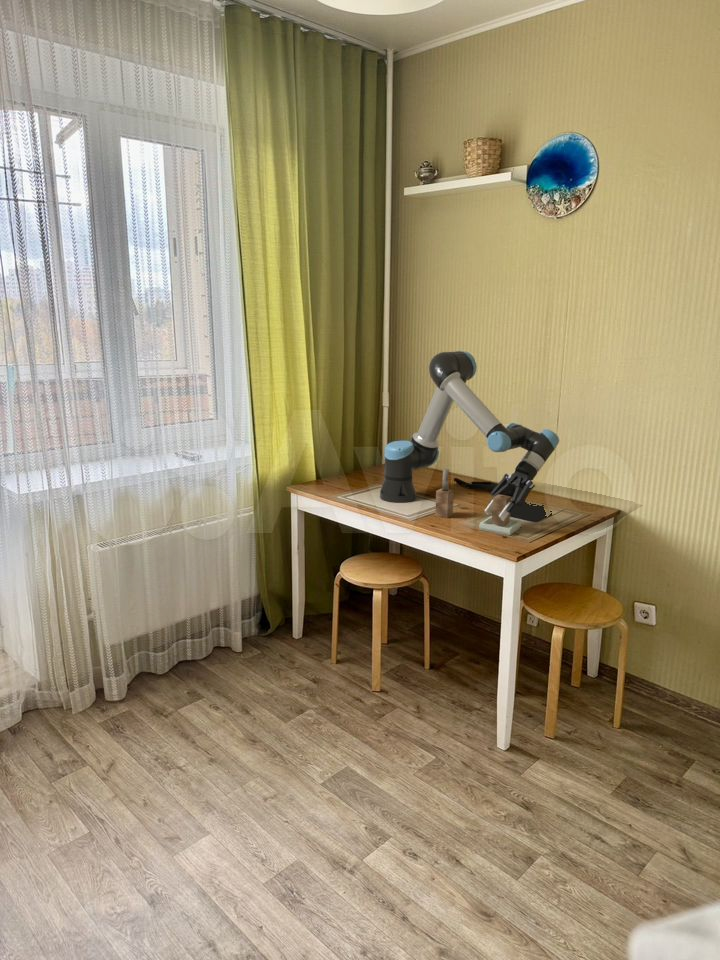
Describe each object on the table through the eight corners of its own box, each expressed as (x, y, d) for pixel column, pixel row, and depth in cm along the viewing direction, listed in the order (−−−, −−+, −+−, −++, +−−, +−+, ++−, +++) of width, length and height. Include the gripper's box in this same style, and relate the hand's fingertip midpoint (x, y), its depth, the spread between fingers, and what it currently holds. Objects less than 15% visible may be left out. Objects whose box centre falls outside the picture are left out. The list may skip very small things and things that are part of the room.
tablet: (536, 522, 259) (489, 512, 271) (536, 524, 259) (488, 514, 271) (566, 508, 279) (521, 499, 291) (566, 510, 279) (521, 500, 292)
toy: (449, 489, 311) (510, 498, 293) (450, 478, 310) (511, 487, 292) (460, 485, 318) (521, 494, 300) (461, 475, 317) (521, 483, 299)
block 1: (435, 515, 267) (437, 470, 262) (440, 512, 271) (442, 467, 266) (447, 518, 264) (449, 472, 260) (452, 514, 268) (454, 469, 264)
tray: (479, 529, 251) (479, 523, 250) (491, 521, 260) (491, 515, 260) (509, 535, 245) (510, 529, 244) (520, 527, 254) (521, 520, 254)
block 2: (491, 523, 251) (493, 497, 249) (496, 520, 256) (498, 494, 253) (504, 526, 249) (506, 499, 246) (509, 522, 253) (511, 496, 251)
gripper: (554, 478, 248) (518, 528, 244) (514, 467, 264) (480, 514, 260) (545, 465, 244) (508, 516, 239) (505, 455, 260) (470, 503, 255)
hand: (493, 515), depth 250 cm, fingers closed on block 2, 7 cm apart
